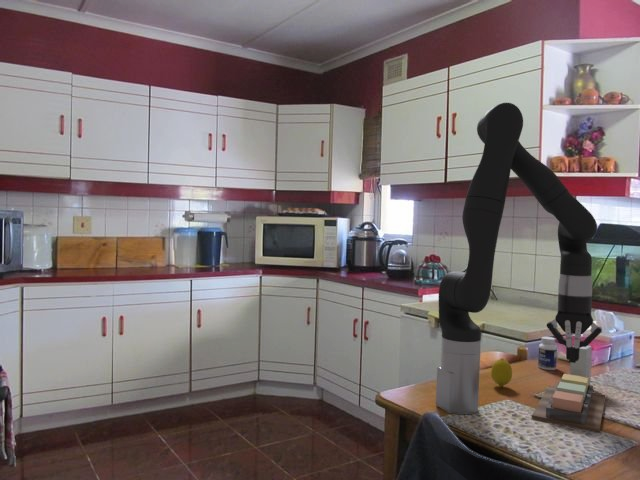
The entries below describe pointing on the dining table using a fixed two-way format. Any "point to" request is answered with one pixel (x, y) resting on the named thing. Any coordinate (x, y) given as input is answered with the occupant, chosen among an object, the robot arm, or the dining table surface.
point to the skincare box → (582, 363)
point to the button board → (583, 420)
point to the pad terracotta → (567, 401)
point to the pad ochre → (575, 380)
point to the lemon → (501, 372)
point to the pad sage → (572, 389)
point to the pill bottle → (547, 354)
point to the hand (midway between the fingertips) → (572, 361)
